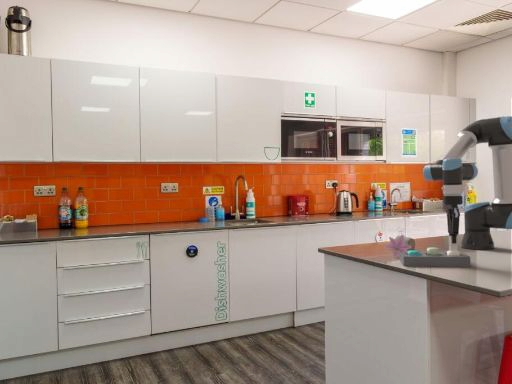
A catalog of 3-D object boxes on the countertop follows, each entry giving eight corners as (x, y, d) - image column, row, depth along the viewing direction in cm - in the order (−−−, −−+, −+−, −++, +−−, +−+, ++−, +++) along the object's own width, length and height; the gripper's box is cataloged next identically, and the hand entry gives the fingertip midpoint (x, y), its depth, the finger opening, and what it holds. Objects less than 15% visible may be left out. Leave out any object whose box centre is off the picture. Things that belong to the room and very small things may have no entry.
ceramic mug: (409, 253, 213) (409, 237, 212) (393, 251, 218) (393, 236, 218) (419, 250, 220) (419, 235, 220) (404, 249, 226) (404, 234, 226)
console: (462, 261, 189) (462, 252, 189) (470, 266, 178) (470, 256, 178) (399, 260, 194) (399, 251, 194) (403, 265, 183) (403, 256, 182)
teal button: (418, 259, 189) (418, 250, 189) (421, 261, 185) (420, 252, 184) (406, 259, 190) (406, 250, 190) (408, 261, 186) (408, 252, 185)
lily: (380, 259, 204) (384, 243, 199) (385, 246, 213) (390, 230, 208) (405, 268, 200) (411, 252, 195) (410, 254, 209) (415, 238, 204)
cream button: (458, 259, 186) (458, 250, 186) (461, 262, 182) (461, 252, 181) (445, 259, 187) (445, 250, 187) (448, 262, 182) (448, 252, 182)
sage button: (438, 256, 188) (438, 247, 188) (441, 258, 183) (440, 249, 183) (426, 256, 189) (426, 247, 189) (428, 258, 184) (428, 249, 184)
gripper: (439, 194, 191) (440, 248, 191) (446, 195, 178) (447, 253, 179) (458, 194, 189) (458, 248, 190) (466, 195, 177) (467, 253, 177)
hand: (453, 250), depth 184 cm, fingers closed
